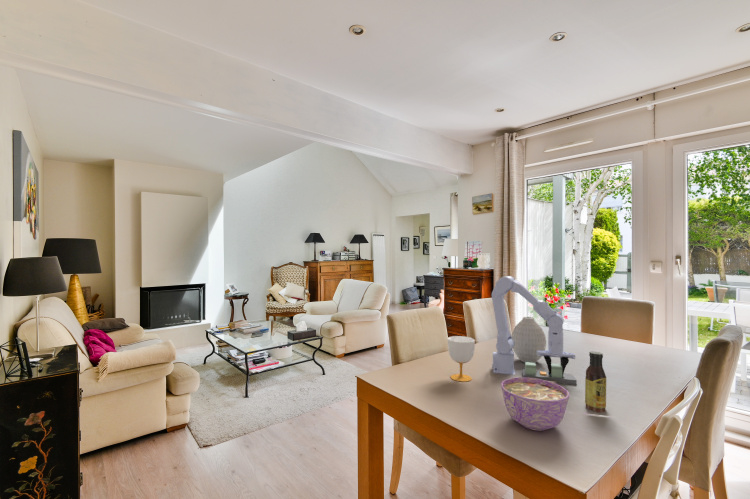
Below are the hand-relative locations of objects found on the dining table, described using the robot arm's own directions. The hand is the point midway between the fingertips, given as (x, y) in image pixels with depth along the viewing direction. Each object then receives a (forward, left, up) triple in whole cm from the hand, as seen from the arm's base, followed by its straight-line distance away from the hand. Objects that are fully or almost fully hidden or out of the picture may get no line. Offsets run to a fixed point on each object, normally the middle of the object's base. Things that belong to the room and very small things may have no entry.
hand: (555, 374), depth 151 cm
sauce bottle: (+8, -27, -3) cm, 28 cm away
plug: (0, 0, -2) cm, 2 cm away
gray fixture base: (-3, 0, -3) cm, 4 cm away
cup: (-39, -9, -3) cm, 40 cm away
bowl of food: (-14, -45, -3) cm, 47 cm away
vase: (-8, +26, -3) cm, 28 cm away
